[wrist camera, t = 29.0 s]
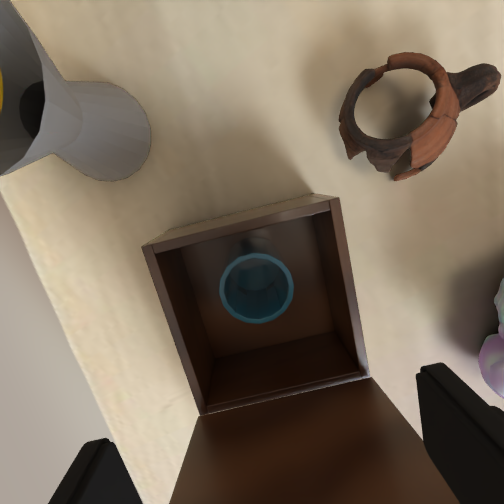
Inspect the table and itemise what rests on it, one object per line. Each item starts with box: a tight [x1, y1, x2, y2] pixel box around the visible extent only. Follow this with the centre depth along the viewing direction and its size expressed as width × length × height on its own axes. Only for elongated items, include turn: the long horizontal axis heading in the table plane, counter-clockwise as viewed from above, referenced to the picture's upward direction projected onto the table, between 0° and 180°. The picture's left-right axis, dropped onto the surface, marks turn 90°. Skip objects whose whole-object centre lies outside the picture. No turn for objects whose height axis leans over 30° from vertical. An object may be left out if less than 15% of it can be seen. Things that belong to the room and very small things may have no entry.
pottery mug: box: [339, 52, 501, 181], centre depth 25 cm, size 12×10×8 cm
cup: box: [219, 237, 294, 324], centre depth 26 cm, size 6×6×7 cm
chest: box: [141, 194, 370, 416], centre depth 27 cm, size 16×15×8 cm
